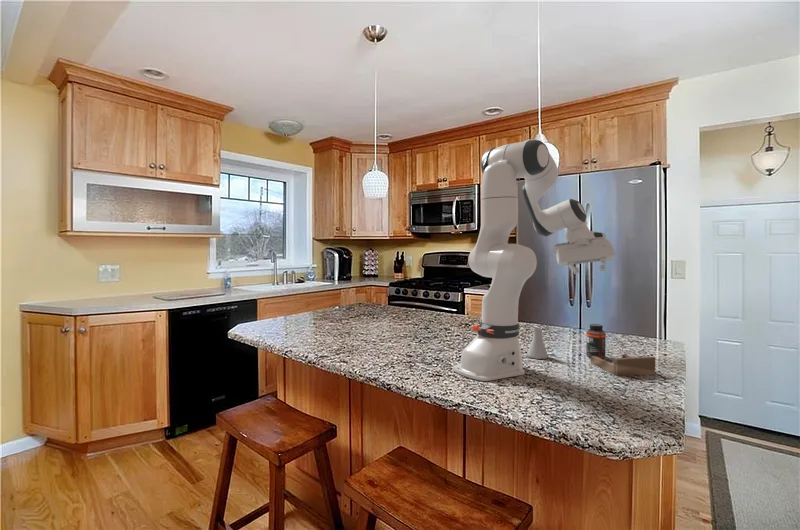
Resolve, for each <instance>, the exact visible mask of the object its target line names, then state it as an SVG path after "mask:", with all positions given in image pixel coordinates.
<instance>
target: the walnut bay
mask: <svg viewBox="0 0 800 530" xmlns="http://www.w3.org/2000/svg"><path fill="white" fill-rule="evenodd" d="M621 356H622V357H620V358H619V357H616V358H614V364H613V363H611V362H609V361H607V360H605V359H604V358H603V359H600V358H598V357H596V356H591V358H590V365H593V366H595V367H597V366H598V367H597V368H599V367H600V368H599V369H601V368H602V369H601V370H603V369H604V371H605V370H606V371H605V372H607V371H608V373H609V372H610V374H611V373H612V374H611V375H613V374H614V376H616V377H628V376H631V377H632V376H647V375H649V376H650V375H655V374H656V357H654V356H641V357H640V356H639V357H638V356H637V357H635V356H634V357H633V356H630V355H628V354H622V355H621Z"/></svg>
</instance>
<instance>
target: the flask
mask: <svg viewBox="0 0 800 530" xmlns="http://www.w3.org/2000/svg"><path fill="white" fill-rule="evenodd" d="M532 330H533V335H532V341H531V343H530V345H529V348H528V351H527V353H526V356H527V357H528V358H531V359H537V360H543V359H548V358H549V354H548V351H547V348H546V346H545V344H544V340H543V335H542V334H543V328H542V327H538V326H537V327H535V326H534V327H532Z"/></svg>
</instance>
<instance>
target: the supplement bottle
mask: <svg viewBox="0 0 800 530" xmlns="http://www.w3.org/2000/svg"><path fill="white" fill-rule="evenodd" d="M603 327H604V325H603V324H601V323H590V324H589V329H588V330H587V331H586V345H585V346H586V347H585V348H586V351H585V352H586V353H585V354H586V357H587V358H590V359H591V356H596V357H598V358H600V359H602V358H603V359H605V358H606V345H607V343H606V342H607V340H606V332H605V331H604V330H603Z"/></svg>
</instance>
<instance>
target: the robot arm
mask: <svg viewBox="0 0 800 530" xmlns="http://www.w3.org/2000/svg"><path fill="white" fill-rule="evenodd" d="M555 161H556V160H555V159H554V158H553V157H552V154H551V153H550V151H549V149H548V146H547V144H545V143H544V142H543V141H542V140H539V139H538V140H537V139H532V138H530V139H526V140H524V141H520V142H519V141H518V142H510V143H507V144H504V145H500V146H498V147H492V148H490V149H488V150H486V151H485V152H484V154H483V155H482V158H481V159H480V168H481V172H482V179H481V187H480V199H481V200H480V203H481V204H480V208H481V209H480V210H481V211H480V229H479V233H478V237H477V241H476V244H475V246H474V247H473V248H472V250H471V251H470V253H469V255H468V257H467V258H468V260H467V261H468V265H469V268H470V269H471V271H472V272H474V273H476V274H477V275H479V276H481V277H484V278H491V279H492V280H491V284H490V287H489V288H488V291H487V292H486V293H485V294H484V295H483V296H482V299H481V321H480V323H479V324H472V326H471V331H472V332H477V334H476V336H475V337H474V338H473V339H472V340H471V341H470V343H468V344H467V346H465V348H463V349H462V351H461V357H460V363H457V364H455V365H453V366H452V370H453V371H454V372H455V373H456V374H459V375H461V376H463V377H466V378H469V379H473V380H477V381H482V382H483V381H484V382H490V381H495V380H499V379H500V380H501V379H506V378H510V377H511V378H512V377H516V376H523V375H525V374H526V372H525V369H524V368H523V362H522V360H523V359H522V349H521V347H522V346H521V344H520V341H519V335H520V323H519V320H518V319H519V300H520V296H521V292H522V291H523V290H522V289H523V288H524V285H525V283H526V282H527V280H528V279H530V278H531V277H532V276H533V274H534V273H535V271H536V269H537V265H538V262H537V260H538V259H537V256H536V253H535V252H534V251H533V249H531V248H530V247H528V246H525V245H522V244H518V243H509V238H510V235H511V233H512V231H513V230H514V229H515V228H516V227H517V225H518V223H519V193H518V182H517V179H521V178H524V184H523V186H522V195H523V199H524V201H525V204H526V208H527V209H528V211H529V215H530V217H531V220H532V224H533V229H534V230H535V232H536V233H537V234H538V235H540V236H542V237H543V236H544V237H549V236H550V235H552V234H555V233H556V232H558V231H561V230H563V231H564V232H565V239H566V242H560V243H556V244H555V245H554V246H553V248H552V249H553V252H554V253H555V255H556V263H557V265H558V266H560V267H564V266H565V267H566V266H568V268H569V269H570V270H571V271H572V272H573V274H574V275H578V274H579V273H580V269H579V267H575V266H574V265H580V264H587V263H596V262H597V263H598V262H600V263H601V264H600V266H599V269H600V272H603V271H604V272H605V271H606V270H607V267H606V263H607V261H612V260H613V259H614V257H615V255H616V252H615V249H614V247H613V244H612V243H611V242H610V241H611V240H609V239H607V235H606V233H605V232H601V231H599V232H598V231H592V230H590V229H589V226H588V223H587V222H588V221H587V214H586V210H585V209H584V206H583V204H582V203H581V202H580V201H579V200H577V199H573V198H570V199H566V200H563V201H561V202H559V203H557V204H555V205H553V206H551V207H548V208H546V209H541V208H540V207H541V206H540V205H539V200H540V198H541V197H542V196H543V195H545V194H546V193H547V192H548V191H550V190H551V189H552V188H553V186H554V185H555V184H556V182H557V181H558V177H559V169H558V166H557V164H556V162H555Z"/></svg>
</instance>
